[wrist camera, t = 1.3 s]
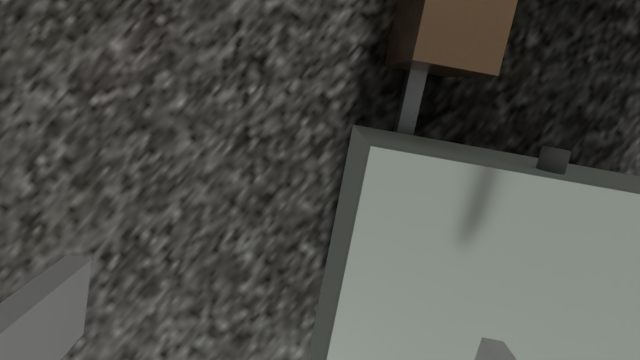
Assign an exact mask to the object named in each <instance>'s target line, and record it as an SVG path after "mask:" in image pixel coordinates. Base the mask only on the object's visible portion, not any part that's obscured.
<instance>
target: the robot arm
mask: <svg viewBox="0 0 640 360" xmlns="http://www.w3.org/2000/svg"><path fill="white" fill-rule="evenodd" d="M91 262H92V259H88V258H83V257H78V256H73V255H66V256H65V257H64V258H62V259H61V260H60V261H58V262H57V263H55V264H54V265H53V266H51V267H50V268H48V269H47V270H46V271H44V272H43V273H41V274H40V275H39V276H37V277H36V278H34V279H33V280H32V281H30V282H29V283H27V284H26V285H25V286H23V287H22V288H20V289H19V290H18V291H16V292H15V293H14V294H12V295H11V296H9V297H8V298H7V299H5V300H4V301H2V302H1V303H0V360H60V359H61V358H62V357H63V356H64V355H65V354H66V353H67V352H68V351H69V349H70V348H71V347H72V346H73V345H74V344H75V343H76V342H77V341H78V340H79V338H80V337H81V336H82V335H83V332H84V323H85V314H86V306H87V297H88V288H89V280H90V271H91ZM475 360H516V358H515V357H514V355H513V354H512V353H511V351H510V350H509V348H508V347H507V345H506V344H505V343H504V341H499V340H494V339H489V338H484V337H482V339H481V342H480V345H479V348H478V351H477V354H476V357H475Z"/></svg>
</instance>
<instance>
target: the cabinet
mask: <svg viewBox="0 0 640 360" xmlns="http://www.w3.org/2000/svg"><path fill="white" fill-rule="evenodd" d="M570 156H571V151H568V150H564V149H559V148H554V147H549V146H542V148H541V151H540V155H539V158H535V157H530V156H524V155H519V154H513V153H508V152H502V151H497V150H491V149H486V148H480V147H475V146H469V145H463V144H458V143H452V142H447V141H441V140H436V139H430V138H425V137H419V136H414V135H408V134H403V133H397V132H392V131H386V130H380V129H375V128H369V127H364V126H358V125H353V128H352V133H351V138H350V143H349V148H348V154H347V159H346V164H345V169H344V174H343V179H342V184H341V189H340V195H339V200H338V205H337V210H336V215H335V220H334V225H333V230H332V235H331V241H330V246H329V251H328V256H327V261H326V266H325V271H324V276H323V281H322V287H321V292H320V297H319V302H318V307H317V312H316V317H315V322H314V327H313V333H312V338H311V360H475V357H476V354H477V351H478V348H479V345H480V342H481V339H482V337H484V338H489V339H494V340H499V341H504V343H505V344H506V345H507V347H508V348H509V350H510V351H511V353H512V354H513V355H514V357H515V358H516V360H640V176H635V175H629V174H624V173H618V172H613V171H607V170H602V169H596V168H591V167H585V166H580V165H574V164H569V163H568V162H569V159H570Z"/></svg>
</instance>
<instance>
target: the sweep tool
mask: <svg viewBox="0 0 640 360" xmlns="http://www.w3.org/2000/svg"><path fill="white" fill-rule="evenodd" d="M517 2H518V0H398V1H397V6H396V11H395V15H394V20H393V25H392V30H391V35H390V40H389V45H388V50H387V55H386V59H385V64H384V66H388V67H393V68H399V69H404V70H406V74H405V79H404V84H403V88H402V93H401V98H400V102H399V107H398V111H397V116H396V121H395V125H394V130H393V132H397V133H403V134H408V135H414V130H415V126H416V121H417V117H418V112H419V108H420V103H421V99H422V95H423V90H424V86H425V81H426V77H427V74H431V75H436V76H442V77H472V76H498V75H499V72H500V68H501V64H502V60H503V56H504V52H505V48H506V45H507V41H508V37H509V33H510V29H511V25H512V21H513V18H514V14H515V10H516V6H517Z"/></svg>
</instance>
